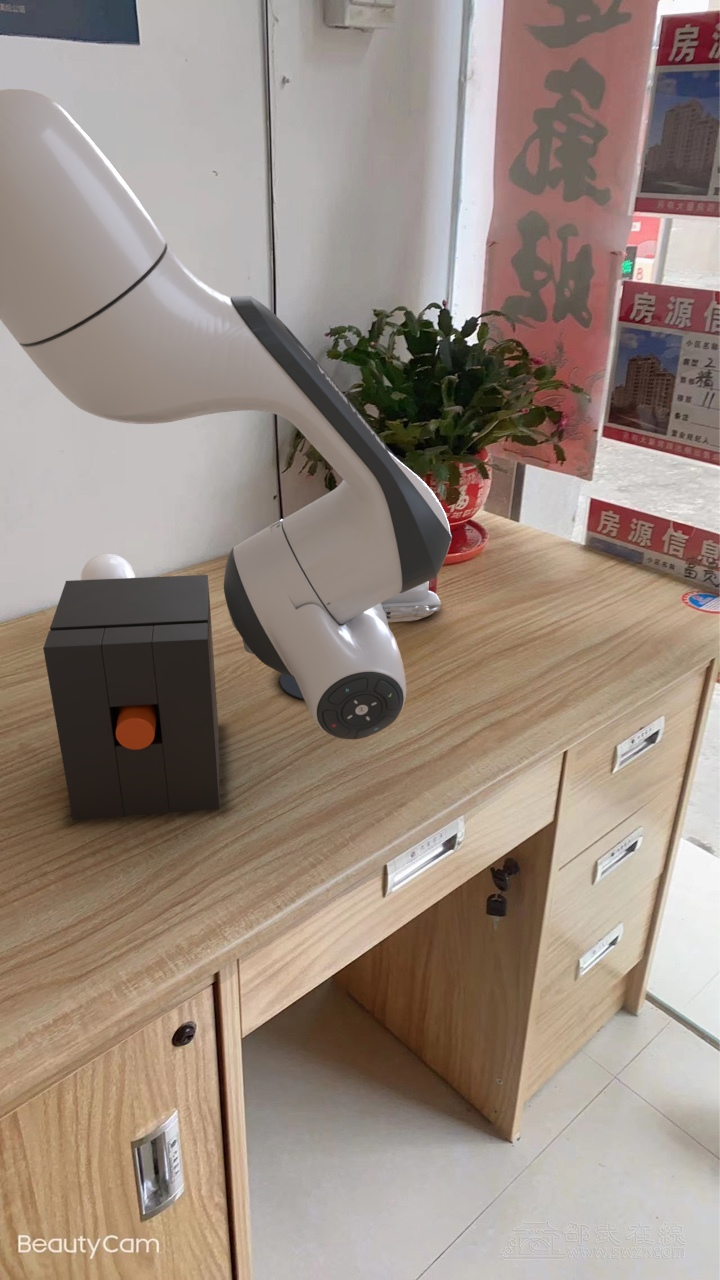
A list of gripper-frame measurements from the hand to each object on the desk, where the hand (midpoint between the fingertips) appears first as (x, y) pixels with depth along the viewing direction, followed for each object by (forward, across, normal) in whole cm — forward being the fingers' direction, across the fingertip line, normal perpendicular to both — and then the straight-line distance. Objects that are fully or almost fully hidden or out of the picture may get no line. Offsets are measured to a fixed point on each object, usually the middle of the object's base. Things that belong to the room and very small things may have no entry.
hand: (320, 560), depth 94 cm
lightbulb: (+14, +24, +15) cm, 32 cm away
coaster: (0, 0, +15) cm, 15 cm away
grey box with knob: (-15, +18, +15) cm, 28 cm away
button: (-21, +18, +7) cm, 29 cm away
